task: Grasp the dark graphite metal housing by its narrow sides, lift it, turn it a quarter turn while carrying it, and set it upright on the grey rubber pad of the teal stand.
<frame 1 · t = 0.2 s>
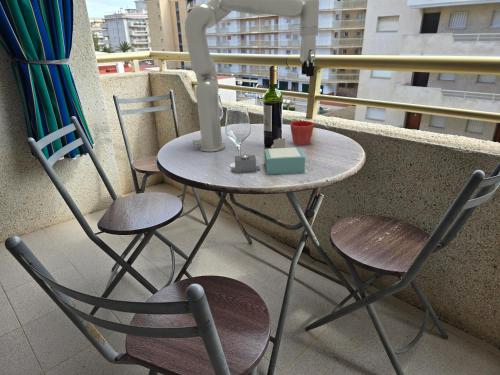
hand: (307, 75, 139), 31 cm above the table, tool pointing down, fingers open, 9 cm apart
stand: (283, 167, 124), on the table
architectural model: (278, 155, 139), on the table
bolt: (244, 161, 132), on the table, tilted 9°
housing: (245, 169, 123), on the table
flower pot: (301, 143, 152), on the table
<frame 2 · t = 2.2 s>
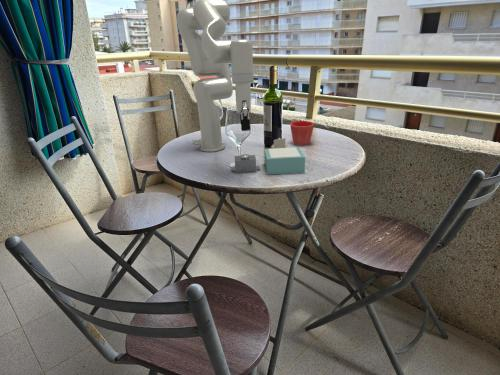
hand: (245, 127, 117), 17 cm above the table, tool pointing down, fingers open, 9 cm apart
bolt: (244, 159, 129), point 2 cm above the table, tilted 172°
everything else where it was.
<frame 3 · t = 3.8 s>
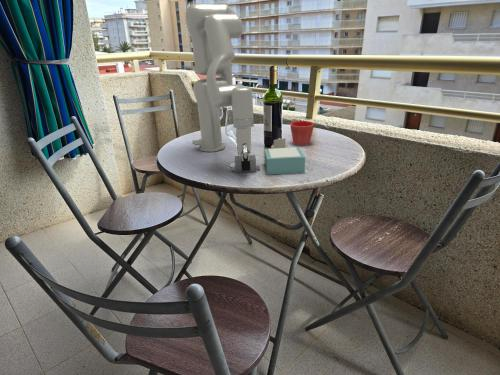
hand: (245, 166, 122), 2 cm above the table, tool pointing down, fingers open, 9 cm apart
bolt: (245, 166, 127), on the table, tilted 28°, touching gripper
everything else where it was.
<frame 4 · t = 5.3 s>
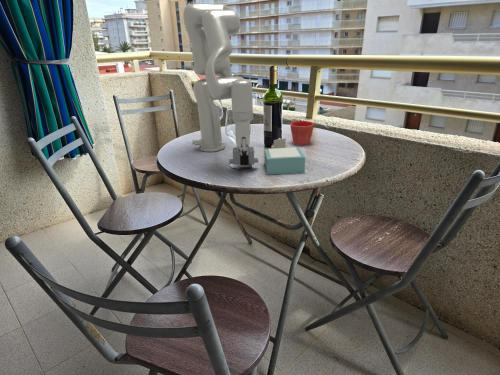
hand: (244, 161, 123), 3 cm above the table, tool pointing down, fingers closed on housing, 5 cm apart
bolt: (245, 167, 124), on the table, tilted 69°
housing: (243, 161, 123), point 3 cm above the table, touching gripper
everything else where it was.
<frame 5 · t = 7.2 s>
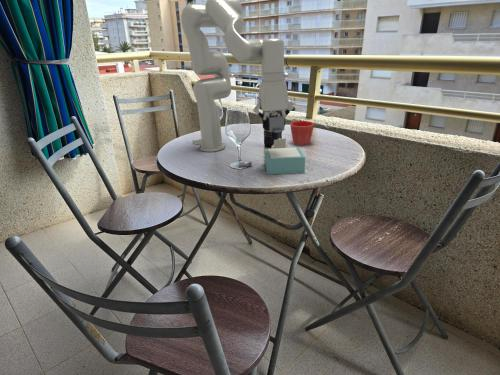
hand: (273, 128, 117), 16 cm above the table, tool pointing down, fingers closed on housing, 5 cm apart
bolt: (245, 162, 126), point 2 cm above the table, tilted 169°
housing: (273, 128, 117), point 16 cm above the table, touching gripper
everything else where it was.
when the fingers open (8 cm above the table, at t = 9.4 s): housing drops 2 cm, resting on stand.
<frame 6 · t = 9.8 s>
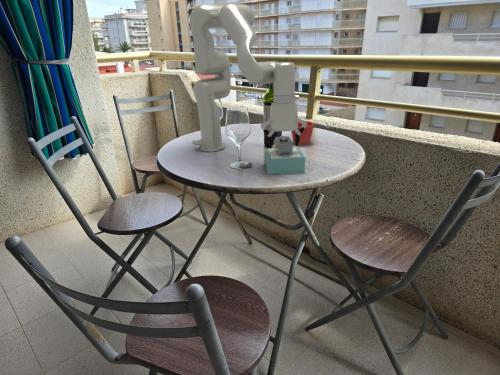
hand: (283, 145, 120), 9 cm above the table, tool pointing down, fingers open, 9 cm apart
bolt: (245, 164, 125), point 1 cm above the table, tilted 122°
housing: (283, 152, 121), point 6 cm above the table, touching stand
everything else where it was.
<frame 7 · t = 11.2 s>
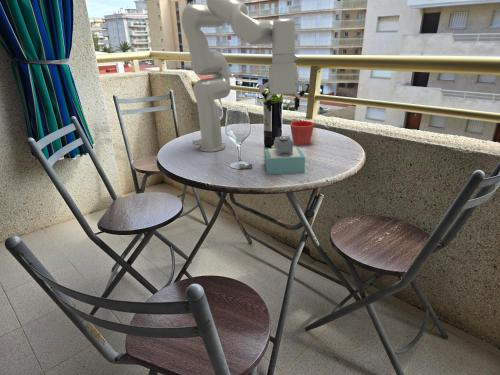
hand: (283, 110, 115), 22 cm above the table, tool pointing down, fingers open, 9 cm apart
bolt: (245, 169, 124), on the table, tilted 22°
everything else where it was.
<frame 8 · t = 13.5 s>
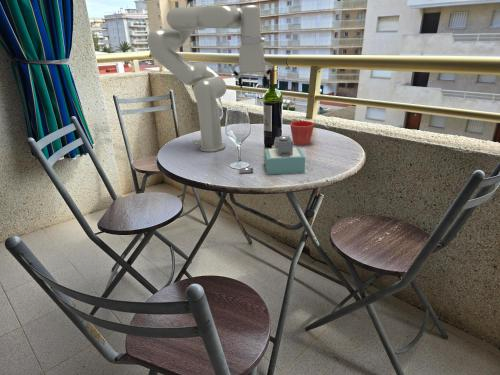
hand: (252, 87, 131), 28 cm above the table, tool pointing down, fingers open, 9 cm apart
bolt: (246, 171, 119), point 1 cm above the table, tilted 86°
everything else where it was.
at the end: housing inside the target area on the stand (0.3 cm from its centre), point 6.3 cm above the stand's base; housing tilted 0°; the gripper is holding nothing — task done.
